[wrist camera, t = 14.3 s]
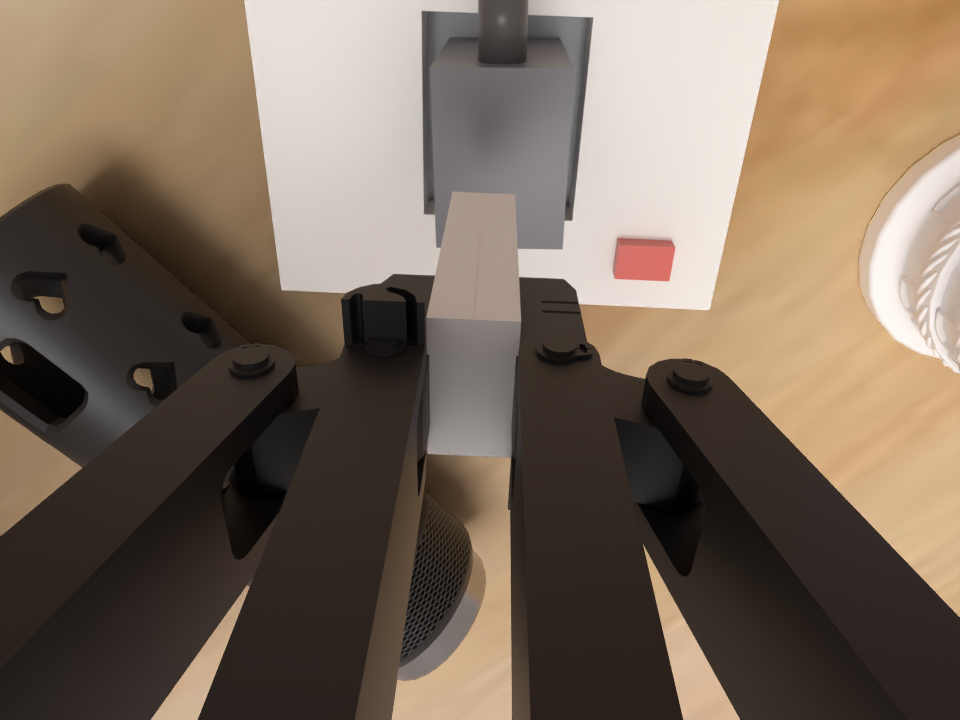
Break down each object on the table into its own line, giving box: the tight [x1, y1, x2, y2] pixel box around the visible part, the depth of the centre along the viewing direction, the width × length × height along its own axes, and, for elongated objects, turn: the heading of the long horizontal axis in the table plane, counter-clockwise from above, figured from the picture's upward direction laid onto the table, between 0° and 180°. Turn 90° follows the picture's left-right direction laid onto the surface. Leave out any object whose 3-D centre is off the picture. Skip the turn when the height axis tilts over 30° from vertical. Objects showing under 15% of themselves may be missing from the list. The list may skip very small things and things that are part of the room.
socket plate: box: [244, 0, 779, 310], centre depth 29 cm, size 20×16×3 cm
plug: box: [430, 0, 574, 249], centre depth 26 cm, size 8×4×8 cm, turn 0°
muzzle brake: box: [0, 184, 486, 681], centre depth 35 cm, size 10×28×10 cm, turn 40°
